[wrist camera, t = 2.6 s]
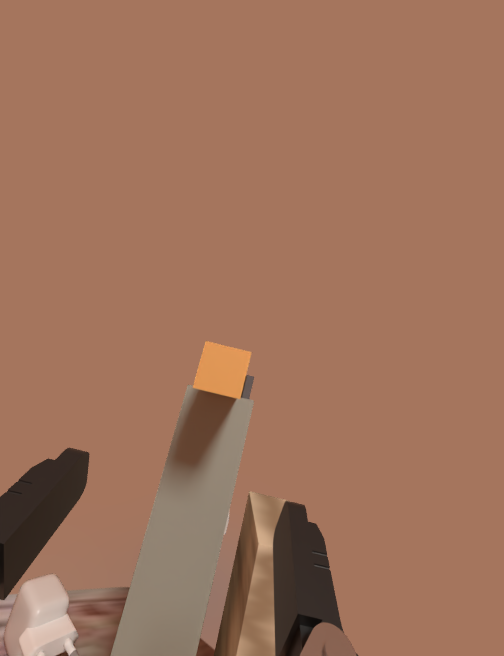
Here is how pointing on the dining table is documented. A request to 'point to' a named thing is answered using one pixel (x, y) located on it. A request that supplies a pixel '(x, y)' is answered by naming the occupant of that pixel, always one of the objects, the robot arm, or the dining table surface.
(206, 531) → the case
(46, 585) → the power adapter
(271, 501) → the birch block
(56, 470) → the robot arm
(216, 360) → the orange block
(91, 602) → the dining table surface
